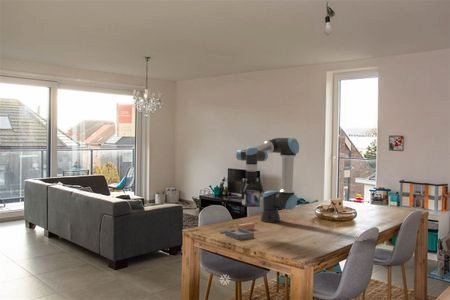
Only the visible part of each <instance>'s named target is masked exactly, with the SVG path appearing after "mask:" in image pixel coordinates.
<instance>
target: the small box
mask: <svg viewBox="0 0 450 300" xmlns="http://www.w3.org/2000/svg"><path fill="white" fill-rule="evenodd" d="M245 194H246V204H245V205H244V204H242V203H241V206H242V207H245V208H257V207H261V193H260V191H258V190H256V189H247V191H246V192H245Z"/></svg>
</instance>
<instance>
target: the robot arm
mask: <svg viewBox="0 0 450 300" xmlns="http://www.w3.org/2000/svg"><path fill="white" fill-rule="evenodd" d="M299 151H300V143H299V142H298V140H297V138H294V137H275V138H272V139H268V140H266V141H264V142H263V143H260V144H257V145H254V146H252V147H246V149H237V151H236V153H235V155H236V156H235V157H236V159H237V160H238V161H244V162H245V178H241V185H240V187H239V191H238V193H239V194H240V196H241V205H242V204H244V205H245V204H246V194H245V192H246V191H247V190H249V187H250V186H253V188H254V190H258V191H260V194H262V193H263V195H262V197H263V198H262V199H263V201H262V213H261V216H260V221H262V222H264V223H279V222H280V221H281V216H280V213H279V209H282V210H285V211H286V210H290V211H292V210H294V209H295V208H296V206H297V204H298V203H297V202H298V196H297V195H296V194H295V190H294V187H293V185H294V159H295V157H296V156H297V154H298V153H299ZM272 153H273V154H275V153H276V154H280V157H281V178H280V179H281V181H280V182H281V184H280V185H281V187H280V189H279V190H269V191H264V190H263V186H262V183H261V177H258V171H257V170H258V162H265V161H267V160H268V158H269V154H272Z"/></svg>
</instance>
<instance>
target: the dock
mask: <svg viewBox="0 0 450 300" xmlns="http://www.w3.org/2000/svg"><path fill="white" fill-rule="evenodd" d="M219 234H225V235H224V236H225V237H226V236H227V237H230V238H232V239H235V240H237V239H238V240H237V241H241V239H242V240H246V239H247V238H248V239H252V238H254V235H255V234H254V231H251V230H244V229H241V228H238V227H237V230H236V229H229V230H228V229H225V230H223V231H220V232H219Z"/></svg>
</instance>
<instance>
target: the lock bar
mask: <svg viewBox="0 0 450 300" xmlns="http://www.w3.org/2000/svg"><path fill="white" fill-rule="evenodd" d="M255 227H256V226H255V223H254V222H246V223H242V224H241V223H239V224H237V229H238V228H241V229H244V230H247V231H251V230H254V229H255Z"/></svg>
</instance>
